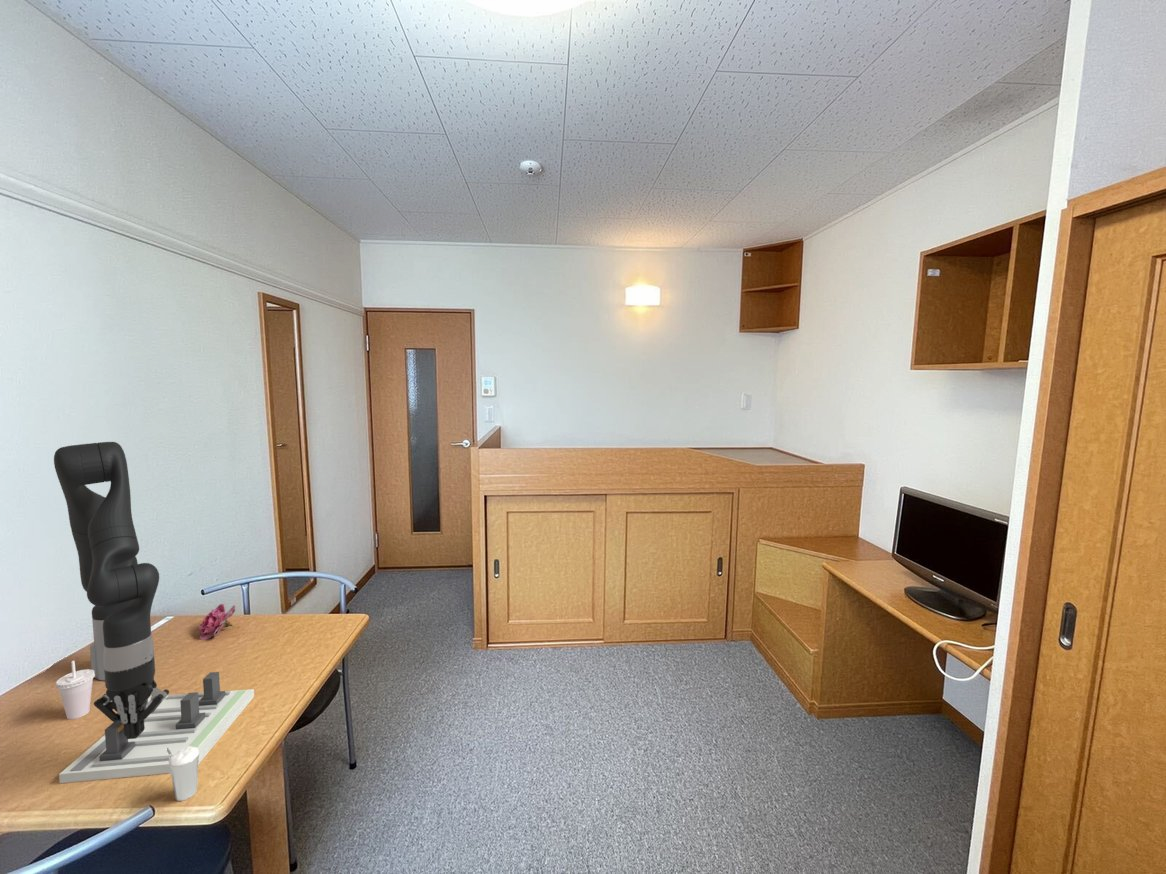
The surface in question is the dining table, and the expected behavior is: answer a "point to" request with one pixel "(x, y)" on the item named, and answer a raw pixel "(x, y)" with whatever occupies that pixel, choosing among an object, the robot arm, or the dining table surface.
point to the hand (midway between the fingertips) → (135, 736)
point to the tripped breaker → (116, 743)
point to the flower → (215, 622)
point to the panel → (167, 734)
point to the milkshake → (184, 772)
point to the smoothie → (76, 691)
